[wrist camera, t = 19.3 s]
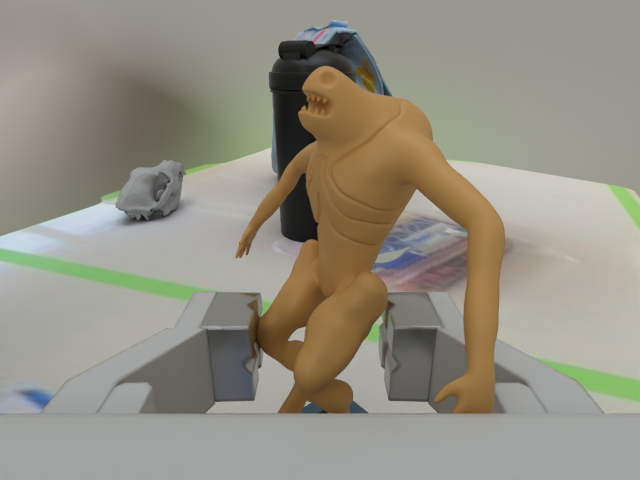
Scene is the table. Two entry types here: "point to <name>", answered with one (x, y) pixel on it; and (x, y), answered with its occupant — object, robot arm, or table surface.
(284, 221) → the water bottle
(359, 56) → the lunch bag
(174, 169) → the skull
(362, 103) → the figurine
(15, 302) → the table surface
